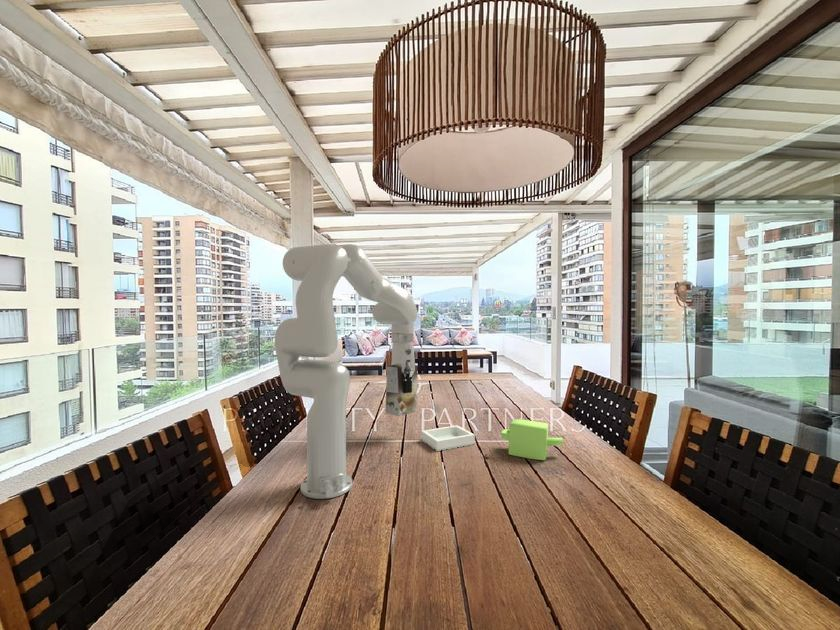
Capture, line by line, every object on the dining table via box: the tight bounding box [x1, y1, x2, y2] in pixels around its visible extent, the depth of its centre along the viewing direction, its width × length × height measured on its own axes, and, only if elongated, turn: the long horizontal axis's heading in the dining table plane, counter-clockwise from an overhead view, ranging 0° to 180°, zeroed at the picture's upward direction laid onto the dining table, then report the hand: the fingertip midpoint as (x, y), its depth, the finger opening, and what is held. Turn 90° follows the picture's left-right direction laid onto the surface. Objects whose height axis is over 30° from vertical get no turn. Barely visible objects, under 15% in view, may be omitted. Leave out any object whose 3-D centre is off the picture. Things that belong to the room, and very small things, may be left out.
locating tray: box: [421, 425, 476, 452], centre depth 127 cm, size 11×14×3 cm
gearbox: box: [501, 418, 564, 461], centre depth 118 cm, size 18×10×10 cm, turn 67°
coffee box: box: [385, 364, 418, 417], centre depth 130 cm, size 9×6×16 cm
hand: (401, 390), depth 130 cm, fingers closed on coffee box, 8 cm apart
